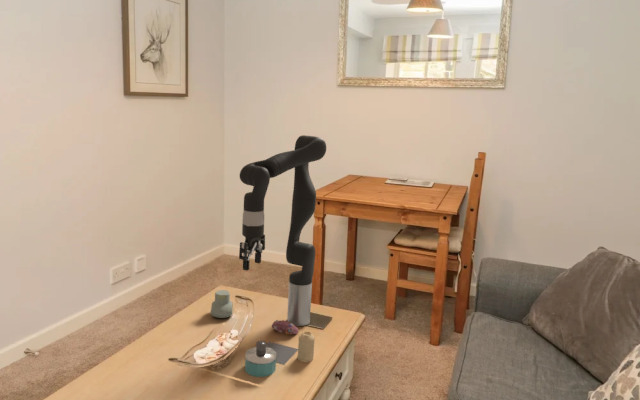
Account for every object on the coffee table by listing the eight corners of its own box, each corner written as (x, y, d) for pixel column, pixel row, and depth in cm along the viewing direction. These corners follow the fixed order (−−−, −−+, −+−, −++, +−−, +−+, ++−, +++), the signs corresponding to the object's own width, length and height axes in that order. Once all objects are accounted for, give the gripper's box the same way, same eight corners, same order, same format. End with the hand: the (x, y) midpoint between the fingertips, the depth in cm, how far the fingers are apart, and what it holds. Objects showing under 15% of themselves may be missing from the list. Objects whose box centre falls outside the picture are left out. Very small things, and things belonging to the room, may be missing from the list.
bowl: (254, 359, 180) (254, 346, 179) (280, 366, 177) (280, 353, 176) (239, 373, 171) (239, 359, 170) (266, 381, 168) (267, 367, 167)
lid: (254, 346, 180) (255, 333, 179) (281, 353, 176) (282, 340, 175) (239, 359, 170) (239, 346, 169) (267, 367, 166) (268, 353, 165)
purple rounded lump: (272, 335, 202) (269, 323, 198) (277, 326, 205) (274, 314, 201) (295, 340, 199) (292, 329, 195) (300, 331, 202) (297, 319, 198)
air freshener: (212, 309, 218) (213, 287, 216) (232, 309, 219) (233, 287, 217) (210, 321, 208) (210, 297, 206) (231, 321, 209) (231, 298, 207)
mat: (269, 343, 193) (269, 341, 192) (298, 350, 188) (298, 349, 188) (253, 357, 182) (253, 356, 182) (284, 366, 177) (284, 364, 177)
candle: (311, 364, 179) (312, 338, 177) (295, 362, 180) (297, 335, 178) (314, 357, 185) (316, 331, 182) (299, 354, 186) (301, 328, 183)
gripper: (253, 216, 189) (252, 259, 193) (233, 225, 176) (232, 270, 180) (272, 219, 186) (270, 262, 190) (252, 228, 174) (251, 274, 177)
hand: (252, 266), depth 185 cm, fingers open, 8 cm apart
